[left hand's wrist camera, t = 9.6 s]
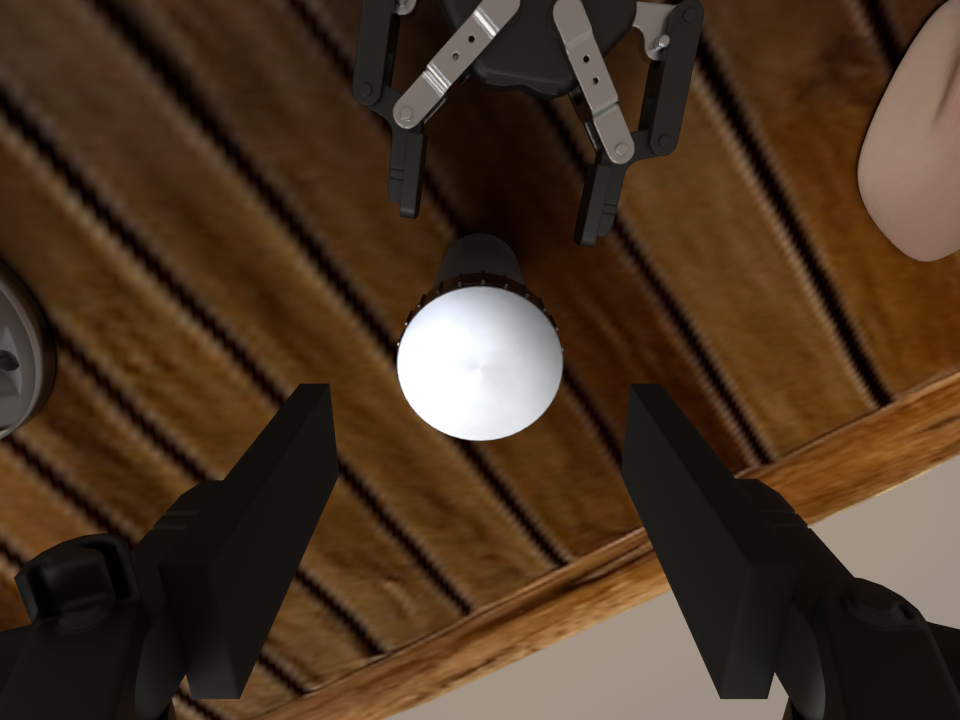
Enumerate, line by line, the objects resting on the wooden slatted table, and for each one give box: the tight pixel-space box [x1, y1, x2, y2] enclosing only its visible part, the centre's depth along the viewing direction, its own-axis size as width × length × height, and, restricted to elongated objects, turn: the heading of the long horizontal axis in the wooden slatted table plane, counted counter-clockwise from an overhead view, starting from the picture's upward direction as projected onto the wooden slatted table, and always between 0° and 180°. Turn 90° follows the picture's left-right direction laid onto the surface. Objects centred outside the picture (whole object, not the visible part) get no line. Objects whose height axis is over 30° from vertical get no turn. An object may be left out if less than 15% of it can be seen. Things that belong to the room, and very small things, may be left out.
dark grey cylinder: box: [433, 233, 527, 288], centre depth 26 cm, size 5×5×16 cm
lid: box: [396, 271, 563, 441], centre depth 19 cm, size 6×6×2 cm
